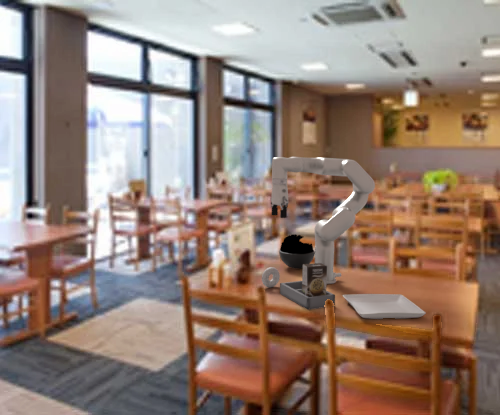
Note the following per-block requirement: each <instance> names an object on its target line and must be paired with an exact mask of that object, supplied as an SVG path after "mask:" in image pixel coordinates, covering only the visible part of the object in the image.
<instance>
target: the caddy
mask: <svg viewBox="0 0 500 415" xmlns="http://www.w3.org/2000/svg"><path fill="white" fill-rule="evenodd" d="M279 294H280V295H281V296H283V297H285V298H287V299H288V300H290V301H292V302H293V303H295V304H297V305H299V306H300V307H302V308H304V309H306V310H315V309H316V310H317V309H325V308H324V305H325V301H326V300H327V299H330V300H332V301H333V303H334V305H335V304H336V294H335V293H333V292H330V291H328V290H326V295H322V296H314V297H308V296H306V295H304V294H302V280H297V281H289V282H288V281H287V282H280V283H279Z"/></svg>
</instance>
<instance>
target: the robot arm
mask: <svg viewBox="0 0 500 415" xmlns="http://www.w3.org/2000/svg"><path fill="white" fill-rule="evenodd" d="M271 162H272V163H271V166H272V168H271V170H272V171H271V185H272V187H271V197H270V207H271V216H278V215H279V214H280V218H281V219H286V218H287V213H288V206H289V189H288V172H290V173H310V174H316V175H319V176H320V175H322V176H336V177H337V176H338V177H346V178H348V181H350V182H351V183H352V191H351V192H352V193H351V194H350V195H349V197H348V198H347V199H346V200H345V201H343V202H342V203H341V204H340V205H338V206H337V207H336V208H334V209H333V211H332V213H331V214H332V215H331V218H329V219H326V218H325V219H321V220H318V221H317V222H316V223H315V226H314V251H315V255H314V263H322V264H324V265H326V266H327V282H326V285H331V284H335V283H336V282H337V278H340V277H342V273H341V272H334V263H335V262H334V259H335V258H334V257H335V253H334V252H335V240H336V239H338V238H339V237H341V236H342V235H343V234H344V233H345V232H347V231H348V230H349V229H350V228H352V226H353V225H354V224H355V221H356V215H357V214H358V213H359V212H361V210H362V209H363V208H364V207H365V206H366V204H367V203H368V200H369V194H371V193H373V192H374V190H375V188H376V183H375V180H374V179H373V178H372V177H371V175H370V174H369V173H368V172H367V171H366V170H365V169H364V168H363V167H362V165H360V164H359V163H358V162H357V160H355V159H348V158H335V157H334V158H332V157H304V156H303V157H300V156H290V157H286V156H285V157H284V156H280V157H279V156H277V157H272V160H271ZM278 206H280V213H278V212H279V211H278V210H279V209H278Z"/></svg>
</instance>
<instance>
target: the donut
mask: <svg viewBox="0 0 500 415" xmlns="http://www.w3.org/2000/svg"><path fill="white" fill-rule="evenodd" d="M271 275H272V278H271V280H270V279H269V278H270V276H271ZM279 281H280V272H279V270H278V269H277V268H276V267H272V266H270V267H267V268H266V269H264V271H263V272H262V274H261V282H262V285H263V286H264V287H266V288H273V287H276V286H277V284H278V283H279Z"/></svg>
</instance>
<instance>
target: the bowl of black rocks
mask: <svg viewBox="0 0 500 415" xmlns="http://www.w3.org/2000/svg"><path fill="white" fill-rule="evenodd" d="M304 237H305V236H303V235H300V234H298V235H297V233H296V234H294V233H293V234H288V235H287V236H286V237H284V238H283V241H282V242H281V245H280V249H278V252H279V257H280V259H281V261H282V262H283V264H285V265H286V266H287V267H288V268H291V269H295V270H297V269H298V270H299V269H303V264H312V262H313V259H315V249H314V247H313V244H312V243H309V242H303V241H301V239H303V238H304Z"/></svg>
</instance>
